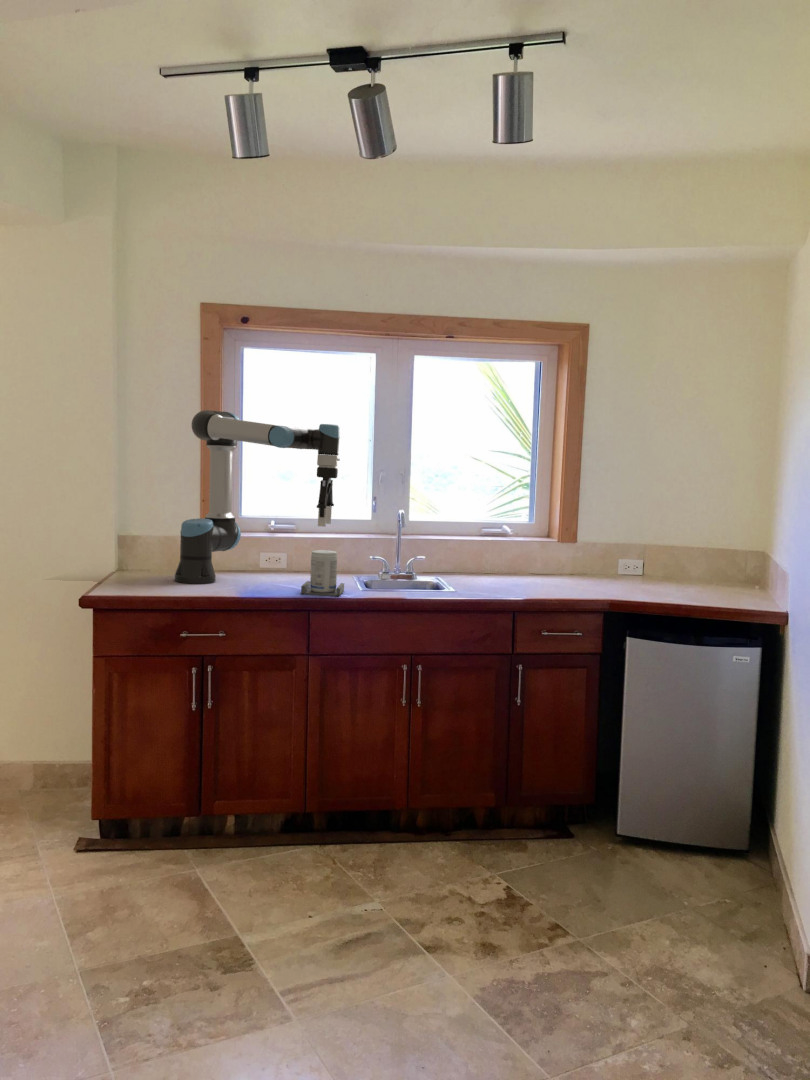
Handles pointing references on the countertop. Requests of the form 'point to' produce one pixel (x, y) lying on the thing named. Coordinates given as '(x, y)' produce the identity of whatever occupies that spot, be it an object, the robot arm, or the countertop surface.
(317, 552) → the supplement tub
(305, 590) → the end holder
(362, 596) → the countertop surface
